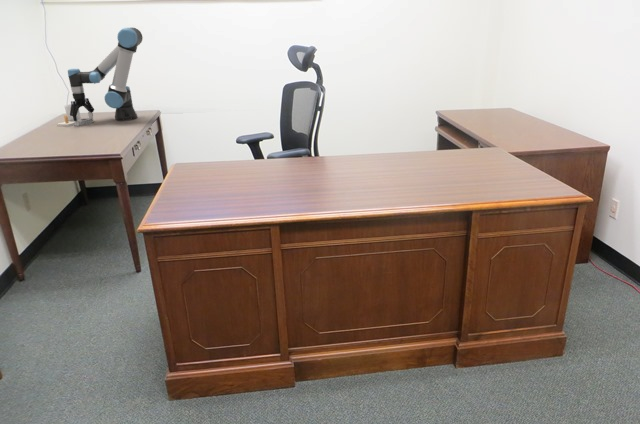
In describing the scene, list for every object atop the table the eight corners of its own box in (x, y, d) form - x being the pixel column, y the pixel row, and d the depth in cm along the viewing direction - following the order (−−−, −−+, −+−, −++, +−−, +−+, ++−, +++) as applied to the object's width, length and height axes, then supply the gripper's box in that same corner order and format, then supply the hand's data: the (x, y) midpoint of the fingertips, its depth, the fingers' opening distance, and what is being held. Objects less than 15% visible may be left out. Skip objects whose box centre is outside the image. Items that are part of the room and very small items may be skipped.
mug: (82, 117, 344) (79, 103, 340) (80, 120, 334) (77, 105, 330) (69, 118, 342) (66, 103, 337) (67, 121, 331) (63, 106, 327)
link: (92, 122, 326) (92, 118, 325) (85, 124, 320) (84, 120, 319) (84, 122, 328) (83, 118, 327) (77, 124, 322) (76, 120, 321)
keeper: (77, 123, 324) (75, 114, 321) (68, 126, 316) (65, 117, 313) (67, 123, 326) (65, 114, 323) (57, 126, 318) (55, 116, 315)
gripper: (87, 89, 328) (93, 119, 336) (59, 95, 306) (66, 127, 314) (95, 90, 326) (101, 120, 334) (68, 95, 304) (75, 127, 312)
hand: (84, 123), depth 324 cm, fingers open, 13 cm apart
